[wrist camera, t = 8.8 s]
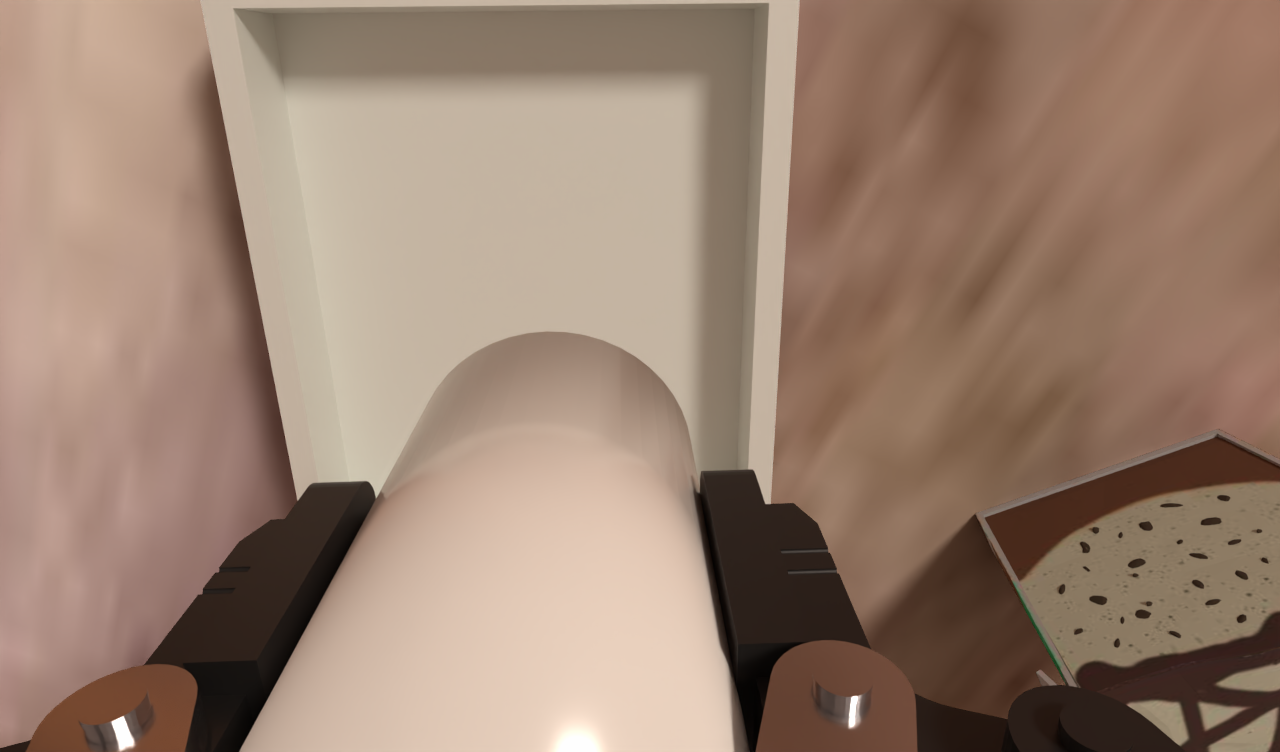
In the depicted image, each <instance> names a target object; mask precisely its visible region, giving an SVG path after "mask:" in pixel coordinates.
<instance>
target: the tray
mask: <svg viewBox="0 0 1280 752" xmlns="http://www.w3.org/2000/svg"><path fill="white" fill-rule="evenodd" d="M200 1H201V6H202V11H203V17H204V22H205V27H206V32H207V37H208V42H209V48H210V53H211V58H212V63H213V68H214V73H215V78H216V84H217V89H218V94H219V99H220V104H221V109H222V114H223V120H224V125H225V130H226V135H227V140H228V145H229V150H230V156H231V161H232V166H233V171H234V176H235V181H236V187H237V192H238V197H239V202H240V207H241V212H242V217H243V223H244V228H245V233H246V238H247V243H248V248H249V253H250V259H251V264H252V269H253V274H254V279H255V284H256V290H257V295H258V300H259V305H260V310H261V315H262V320H263V326H264V331H265V336H266V341H267V346H268V351H269V356H270V362H271V367H272V372H273V377H274V382H275V387H276V392H277V398H278V403H279V408H280V413H281V418H282V423H283V429H284V434H285V439H286V444H287V449H288V454H289V459H290V465H291V470H292V475H293V480H294V485H295V490H296V495H297V501H298V500H299V499H300V497H301V496H302V494H303V493H304V492H305V490H306V489H307V487H308V486H309V485H310V484H312V483H320V482H351V481H368V482H369V483H370V484H371V485H372V487H373V489H374V492H375V496H376V498H377V496H378V494H379V492H380V491H381V489H382V487H383V485H384V483H385V481H386V480H387V478H388V476H389V474H390V472H391V470H392V468H393V467H394V465H395V463H396V461H397V459H398V457H399V456H400V454H401V452H402V450H403V448H404V446H405V444H406V443H407V441H408V439H409V437H410V435H411V433H412V432H413V430H414V428H415V426H416V424H417V422H418V420H419V419H420V417H421V415H422V413H423V411H424V409H425V408H426V406H427V404H428V402H429V400H430V399H431V397H432V395H433V394H434V392H435V390H436V388H437V387H438V386H439V384H440V383H441V382H442V381H443V379H444V378H445V377H446V376H447V375H448V373H450V372H451V371H452V370H453V369H454V368H455V367H456V366H457V365H458V364H459V363H460V362H462V361H463V360H464V359H466V358H467V357H469V356H470V355H472V354H473V353H474V352H476V351H478V350H480V349H482V348H484V347H486V346H488V345H490V344H492V343H494V342H497V341H500V340H503V339H506V338H508V337H512V336H517V335H522V334H526V333H535V332H546V331H548V332H568V333H575V334H581V335H586V336H590V337H593V338H597V339H600V340H603V341H606V342H608V343H610V344H613V345H615V346H617V347H620V348H622V349H623V350H625V351H627V352H628V353H630V354H632V355H633V356H635V357H637V358H638V359H639V360H641V361H642V362H643V363H644V364H646V365H647V366H648V367H650V368H651V369H652V370H653V371H654V372H655V373H656V374H657V375H658V376H659V377H660V378H661V379H662V380H663V382H664V383H665V384H666V386H667V387H668V388H669V390H670V391H671V392H672V394H673V395H674V397H675V399H676V401H677V402H678V404H679V406H680V408H681V410H682V412H683V415H684V418H685V420H686V423H687V426H688V431H689V435H690V440H691V445H692V450H693V455H694V461H695V466H696V471H697V476H698V482H699V487H700V475H701V471H714V470H745V469H753V470H754V472H755V474H756V477H757V480H758V483H759V486H760V489H761V492H762V495H763V498H764V502H765V504H771V488H772V471H773V453H774V436H775V419H776V401H777V384H778V366H779V349H780V332H781V314H782V297H783V280H784V262H785V245H786V228H787V210H788V193H789V176H790V158H791V141H792V123H793V106H794V89H795V71H796V54H797V37H798V19H799V2H800V0H200Z"/></svg>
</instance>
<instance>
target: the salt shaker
mask: <svg viewBox="0 0 1280 752" xmlns="http://www.w3.org/2000/svg"><path fill="white" fill-rule="evenodd" d="M239 752H750V750H749V745H748V739H747V734H746V729H745V724H744V718H743V714H742V709H741V705H740V700H739V696H738V692H737V689H736V684H735V679H734V673H733V668H732V663H731V657H730V652H729V647H728V641H727V636H726V631H725V625H724V620H723V615H722V609H721V604H720V599H719V593H718V588H717V583H716V577H715V572H714V567H713V561H712V556H711V551H710V546H709V540H708V535H707V530H706V524H705V519H704V514H703V508H702V503H701V498H700V487H699V482H698V476H697V471H696V466H695V461H694V455H693V450H692V445H691V440H690V435H689V431H688V426H687V423H686V420H685V418H684V415H683V412H682V410H681V408H680V406H679V404H678V402H677V401H676V399H675V397H674V395H673V394H672V392H671V391H670V390H669V388H668V387H667V386H666V384H665V383H664V382H663V380H662V379H661V378H660V377H659V376H658V375H657V374H656V373H655V372H654V371H653V370H652V369H651V368H650V367H648V366H647V365H646V364H644V363H643V362H642V361H641V360H639V359H638V358H637V357H635V356H633V355H632V354H630V353H628V352H627V351H625V350H623V349H622V348H620V347H617V346H615V345H613V344H610V343H608V342H606V341H603V340H600V339H597V338H593V337H590V336H586V335H581V334H575V333H568V332H548V331H546V332H535V333H526V334H522V335H517V336H512V337H508V338H506V339H503V340H500V341H497V342H494V343H492V344H490V345H488V346H486V347H484V348H482V349H480V350H478V351H476V352H474V353H473V354H472V355H470V356H469V357H467V358H466V359H464V360H463V361H462V362H460V363H459V364H458V365H457V366H456V367H455V368H454V369H453V370H452V371H451V372H450V373H448V375H447V376H446V377H445V378H444V379H443V381H442V382H441V383H440V384H439V386H438V387H437V388H436V390H435V392H434V394H433V395H432V397H431V399H430V400H429V402H428V404H427V406H426V408H425V409H424V411H423V413H422V415H421V417H420V419H419V420H418V422H417V424H416V426H415V428H414V430H413V432H412V433H411V435H410V437H409V439H408V441H407V443H406V444H405V446H404V448H403V450H402V452H401V454H400V456H399V457H398V459H397V461H396V463H395V465H394V467H393V468H392V470H391V472H390V474H389V476H388V478H387V480H386V481H385V483H384V485H383V487H382V489H381V491H380V492H379V494H378V496H377V498H376V500H375V502H374V504H373V505H372V507H371V509H370V511H369V513H368V515H367V516H366V518H365V520H364V522H363V524H362V526H361V528H360V529H359V531H358V533H357V535H356V537H355V539H354V540H353V542H352V544H351V546H350V548H349V550H348V552H347V553H346V555H345V557H344V559H343V561H342V563H341V564H340V566H339V568H338V570H337V572H336V574H335V576H334V577H333V579H332V581H331V583H330V585H329V587H328V588H327V590H326V592H325V594H324V596H323V598H322V600H321V601H320V603H319V605H318V607H317V609H316V611H315V612H314V614H313V616H312V618H311V620H310V622H309V624H308V625H307V627H306V629H305V631H304V633H303V635H302V636H301V638H300V640H299V642H298V644H297V646H296V648H295V649H294V651H293V653H292V655H291V657H290V659H289V660H288V662H287V664H286V666H285V668H284V670H283V672H282V673H281V675H280V677H279V679H278V681H277V683H276V684H275V686H274V688H273V690H272V692H271V694H270V696H269V697H268V699H267V701H266V703H265V705H264V707H263V708H262V710H261V712H260V714H259V716H258V718H257V720H256V721H255V723H254V725H253V727H252V729H251V731H250V732H249V734H248V736H247V738H246V740H245V742H244V744H243V745H242V747H241V749H240V751H239Z"/></svg>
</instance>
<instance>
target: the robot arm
mask: <svg viewBox="0 0 1280 752" xmlns="http://www.w3.org/2000/svg"><path fill="white" fill-rule="evenodd" d="M700 498H701V503H702V508H703V514H704V519H705V524H706V530H707V535H708V540H709V546H710V551H711V556H712V561H713V567H714V572H715V577H716V583H717V588H718V593H719V599H720V604H721V609H722V615H723V620H724V625H725V631H726V636H727V641H728V647H729V652H730V657H731V663H732V668H733V673H734V679H735V684H736V689H737V692H738V696H739V700H740V705H741V709H742V714H743V718H744V724H745V729H746V734H747V739H748V745H749V750H750V752H1186V751H1185V750H1184V749H1182V748H1181V747H1180V746H1179V745H1178V744H1177V743H1175V742H1174V741H1173V740H1172V739H1171V738H1170V737H1168V736H1167V735H1166V734H1165V733H1164V732H1163V731H1161V730H1160V729H1159V728H1158V727H1157V726H1156V725H1154V724H1153V723H1152V722H1151V721H1149V720H1148V719H1147V718H1145V717H1144V716H1143V715H1142V714H1140V713H1139V712H1137V711H1135V710H1134V709H1132V708H1131V707H1129V706H1127V705H1125V704H1123V703H1122V702H1120V701H1118V700H1116V699H1114V698H1111V697H1109V696H1106V695H1104V694H1101V693H1098V692H1095V691H1091V690H1088V689H1084V688H1079V687H1074V686H1064V685H1049V686H1042V687H1037V688H1033V689H1031V690H1028V691H1026V692H1024V693H1023V694H1021V695H1020V696H1018V697H1017V699H1016V700H1015V701H1014V702H1013V703H1012V705H1011V708H1010V710H1009V714H1008V719H1004V718H999V717H994V716H989V715H985V714H980V713H975V712H971V711H966V710H961V709H956V708H952V707H949V706H945V705H941V704H938V703H935V702H933V701H930V700H927V699H925V698H923V697H921V696H919V695H917V694H915V693H914V691H913V688H912V686H911V684H910V682H909V680H908V679H907V677H906V676H905V674H904V673H903V672H902V671H901V670H900V669H899V668H898V667H897V666H896V665H895V664H894V663H892V662H891V661H890V660H889V659H887V658H886V657H884V656H882V655H881V654H879V653H877V652H875V651H873V650H871V648H870V646H869V643H868V641H867V639H866V636H865V634H864V632H863V629H862V627H861V625H860V622H859V620H858V618H857V615H856V613H855V610H854V608H853V606H852V603H851V601H850V599H849V596H848V594H847V592H846V589H845V587H844V585H843V582H842V580H841V578H840V575H839V574H837V570H836V569H837V568H836V566H835V564H834V561H833V559H832V556H831V554H830V553H828V547H827V545H826V542H825V540H824V538H823V535H822V533H821V531H820V528H819V526H818V524H817V523H816V522H815V521H814V520H813V519H812V518H810V517H809V516H808V515H807V514H806V513H804V512H803V511H802V510H801V509H800V508H799V507H797V506H796V505H795V504H794V503H785V504H765V502H764V498H763V495H762V492H761V489H760V486H759V483H758V480H757V477H756V474H755V472H754V470H753V469H745V470H714V471H701V475H700ZM375 500H376V496H375V492H374V489H373V487H372V485H371V484H370V483H369V482H368V481H351V482H320V483H312V484H310V485H309V486H308V487H307V489H306V490H305V492H304V493H303V494H302V496H301V497H300V499H299V500H298V501H297V503H296V504H295V506H294V507H293V508H292V510H291V511H290V513H289V514H288V515H287V517H286V518H285V519H276V520H270V521H269V522H267V523H266V524H264V525H263V526H262V527H260V528H259V529H257V530H256V531H254V532H253V533H251V534H250V535H249V536H247V537H246V538H244V539H243V540H241V541H240V542H239V543H238V544H237V545H236V547H235V548H234V549H233V551H232V552H231V553H230V554H229V556H228V557H227V558H226V560H225V561H224V562H223V563H222V565H221V566H220V567H219V569H220V570H219V573H215V574H214V575H213V576H212V578H211V579H210V580H209V582H208V583H207V584H206V585H205V587H204V588H203V594H202V595H198V596H197V597H196V598H195V600H194V601H193V602H192V604H191V605H190V606H189V607H188V609H187V610H186V611H185V613H184V614H183V615H182V617H181V618H180V619H179V620H178V622H177V623H176V624H175V626H174V627H173V628H172V630H171V631H170V632H169V633H168V635H167V636H166V637H165V639H164V640H163V641H162V642H161V644H160V645H159V646H158V648H157V649H156V650H155V652H154V653H153V654H152V655H151V657H150V658H149V659H148V661H147V662H146V663H145V664H144V665H143V666H137V667H132V668H128V669H125V670H121V671H118V672H115V673H113V674H110V675H107V676H105V677H103V678H100V679H98V680H96V681H94V682H92V683H90V684H88V685H86V686H85V687H83V688H81V689H79V690H78V691H76V692H75V693H73V694H72V695H70V696H69V697H67V698H66V699H65V700H63V701H62V702H61V703H60V704H58V705H57V706H56V707H55V708H54V709H53V710H52V711H51V712H50V713H49V714H48V715H47V716H46V717H45V718H44V720H43V721H42V722H41V723H40V725H39V726H38V728H37V730H36V731H35V733H34V735H33V737H32V739H31V740H30V741H26V742H22V743H19V744H15V745H11V746H7V747H3V748H0V752H239V751H240V749H241V747H242V745H243V744H244V742H245V740H246V738H247V736H248V734H249V732H250V731H251V729H252V727H253V725H254V723H255V721H256V720H257V718H258V716H259V714H260V712H261V710H262V708H263V707H264V705H265V703H266V701H267V699H268V697H269V696H270V694H271V692H272V690H273V688H274V686H275V684H276V683H277V681H278V679H279V677H280V675H281V673H282V672H283V670H284V668H285V666H286V664H287V662H288V660H289V659H290V657H291V655H292V653H293V651H294V649H295V648H296V646H297V644H298V642H299V640H300V638H301V636H302V635H303V633H304V631H305V629H306V627H307V625H308V624H309V622H310V620H311V618H312V616H313V614H314V612H315V611H316V609H317V607H318V605H319V603H320V601H321V600H322V598H323V596H324V594H325V592H326V590H327V588H328V587H329V585H330V583H331V581H332V579H333V577H334V576H335V574H336V572H337V570H338V568H339V566H340V564H341V563H342V561H343V559H344V557H345V555H346V553H347V552H348V550H349V548H350V546H351V544H352V542H353V540H354V539H355V537H356V535H357V533H358V531H359V529H360V528H361V526H362V524H363V522H364V520H365V518H366V516H367V515H368V513H369V511H370V509H371V507H372V505H373V504H374V502H375Z"/></svg>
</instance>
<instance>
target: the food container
mask: <svg viewBox="0 0 1280 752" xmlns="http://www.w3.org/2000/svg"><path fill="white" fill-rule="evenodd" d="M975 515H976V517H977V520H978V522H979V524H980V527H981V529H982V531H983V534H984V536H985V538H986V540H987V542H988V543H989V545H990V547H991V549H992V551H993V553H994V554H995V556H996V558H997V560H998V562H999V564H1000V565H1001V567H1002V569H1003V571H1004V573H1005V574H1006V576H1007V578H1008V580H1009V582H1010V584H1011V585H1012V587H1013V589H1014V591H1015V593H1016V595H1017V596H1018V598H1019V600H1020V602H1021V604H1022V605H1023V607H1024V609H1025V611H1026V613H1027V615H1028V616H1029V618H1030V620H1031V622H1032V624H1033V626H1034V627H1035V629H1036V631H1037V633H1038V635H1039V636H1040V638H1041V640H1042V642H1043V644H1044V646H1045V647H1046V649H1047V651H1048V653H1049V655H1050V657H1051V658H1052V660H1053V662H1054V664H1055V666H1056V667H1057V669H1058V671H1059V673H1060V675H1061V677H1062V678H1063V680H1064V682H1065V684H1066V686H1074V687H1079V688H1084V689H1088V690H1091V691H1095V692H1098V693H1101V694H1104V695H1106V696H1109V697H1111V698H1114V699H1116V700H1118V701H1120V702H1122V703H1123V704H1125V705H1127V706H1129V707H1131V708H1132V709H1134V710H1135V711H1137V712H1139V713H1140V714H1142V715H1143V716H1144V717H1145V718H1147V719H1148V720H1149V721H1151V722H1152V723H1153V724H1154V725H1156V726H1157V727H1158V728H1159V729H1160V730H1161V731H1163V732H1164V733H1165V734H1166V735H1167V736H1168V737H1170V738H1171V739H1172V740H1173V741H1174V742H1175V743H1177V744H1178V745H1179V746H1180V747H1181V748H1182V749H1184V750H1185V751H1186V752H1280V459H1279V458H1277V457H1275V456H1273V455H1271V454H1269V453H1267V452H1265V451H1263V450H1261V449H1259V448H1257V447H1255V446H1253V445H1251V444H1249V443H1247V442H1244V441H1242V440H1240V439H1238V438H1236V437H1234V436H1232V435H1230V434H1228V433H1226V432H1224V431H1222V430H1220V429H1216V430H1214V431H1211V432H1208V433H1205V434H1202V435H1199V436H1196V437H1194V438H1191V439H1188V440H1185V441H1182V442H1179V443H1176V444H1173V445H1171V446H1168V447H1165V448H1162V449H1159V450H1156V451H1153V452H1151V453H1148V454H1145V455H1142V456H1139V457H1136V458H1133V459H1130V460H1128V461H1125V462H1122V463H1119V464H1116V465H1113V466H1110V467H1107V468H1105V469H1102V470H1099V471H1096V472H1093V473H1090V474H1087V475H1085V476H1082V477H1079V478H1076V479H1073V480H1070V481H1067V482H1064V483H1062V484H1059V485H1056V486H1053V487H1050V488H1047V489H1044V490H1041V491H1039V492H1036V493H1033V494H1030V495H1027V496H1024V497H1021V498H1019V499H1016V500H1013V501H1010V502H1007V503H1004V504H1001V505H998V506H996V507H993V508H990V509H987V510H984V511H981V512H978V513H975ZM1036 673H1037V676H1038V678H1039V680H1040V683H1041V685H1042V686H1049V685H1057V684H1056V683H1055V682H1054V681H1052V680H1051V679H1050V678H1049V677H1048V676H1047V675H1046V674H1045V673H1044V672H1043V671H1042V670H1041V669H1040V670H1039V671H1037V672H1036Z"/></svg>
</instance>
